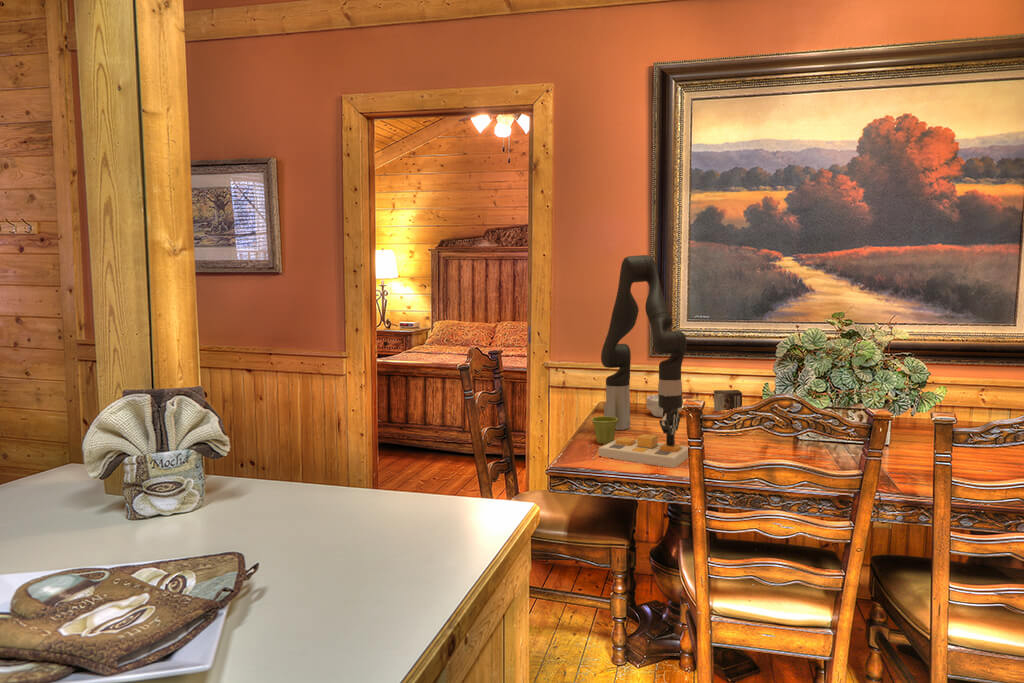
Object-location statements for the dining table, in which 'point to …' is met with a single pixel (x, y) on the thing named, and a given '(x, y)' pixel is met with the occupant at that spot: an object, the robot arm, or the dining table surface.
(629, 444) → the button left
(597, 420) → the plant pot
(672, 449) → the button right
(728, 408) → the coffee box
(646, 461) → the button board
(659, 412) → the light grey bowl
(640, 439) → the button middle
